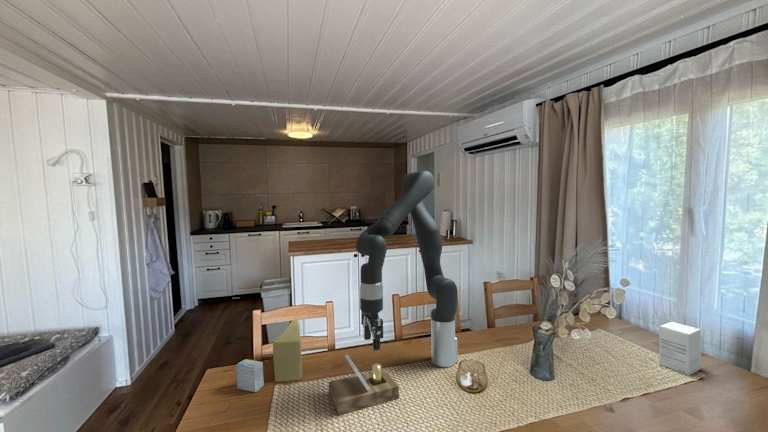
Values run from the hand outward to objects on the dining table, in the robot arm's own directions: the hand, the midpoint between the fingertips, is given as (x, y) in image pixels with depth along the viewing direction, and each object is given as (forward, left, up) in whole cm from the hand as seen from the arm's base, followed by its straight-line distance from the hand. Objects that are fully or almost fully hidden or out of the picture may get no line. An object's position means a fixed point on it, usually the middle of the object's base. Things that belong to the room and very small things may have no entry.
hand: (371, 344), depth 104 cm
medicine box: (+37, -21, -17) cm, 46 cm away
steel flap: (+6, 0, -8) cm, 10 cm away
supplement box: (-109, +32, -17) cm, 115 cm away
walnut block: (+3, 0, -16) cm, 17 cm away
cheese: (+22, -30, -17) cm, 41 cm away
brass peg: (-2, 0, -17) cm, 16 cm away
